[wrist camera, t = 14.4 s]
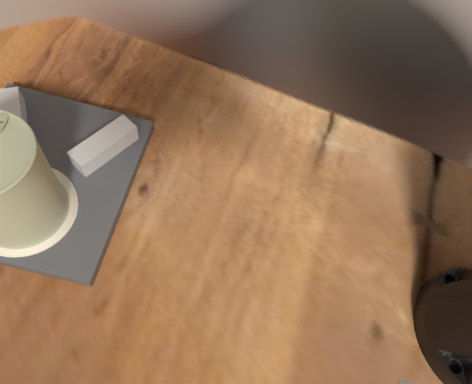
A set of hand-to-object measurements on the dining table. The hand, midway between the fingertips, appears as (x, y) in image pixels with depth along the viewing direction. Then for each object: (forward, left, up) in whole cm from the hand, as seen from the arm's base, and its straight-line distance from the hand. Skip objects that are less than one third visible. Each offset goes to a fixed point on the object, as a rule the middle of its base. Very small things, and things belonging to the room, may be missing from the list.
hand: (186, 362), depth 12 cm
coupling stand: (+21, -17, -29) cm, 40 cm away
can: (+21, -12, -28) cm, 37 cm away
